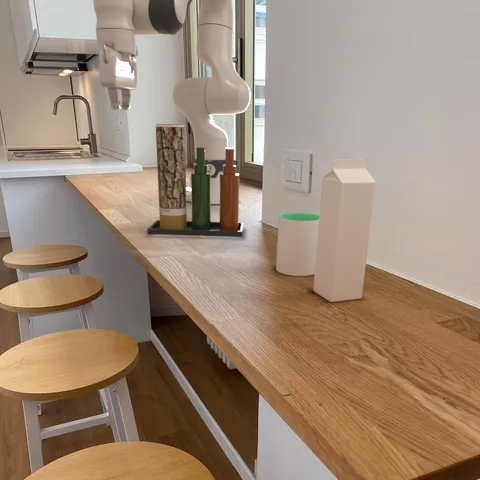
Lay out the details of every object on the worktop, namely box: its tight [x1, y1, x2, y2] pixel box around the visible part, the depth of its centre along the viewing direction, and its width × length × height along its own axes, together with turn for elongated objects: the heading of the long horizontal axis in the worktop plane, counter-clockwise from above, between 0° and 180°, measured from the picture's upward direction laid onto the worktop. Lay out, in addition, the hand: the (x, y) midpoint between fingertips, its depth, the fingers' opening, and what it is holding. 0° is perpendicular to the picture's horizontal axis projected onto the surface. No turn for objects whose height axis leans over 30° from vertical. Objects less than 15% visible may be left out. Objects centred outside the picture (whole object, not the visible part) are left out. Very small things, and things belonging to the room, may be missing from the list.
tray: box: [146, 219, 245, 238], centre depth 126 cm, size 11×23×2 cm, turn 88°
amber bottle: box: [218, 147, 240, 231], centre depth 122 cm, size 5×5×20 cm
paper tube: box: [155, 123, 188, 230], centre depth 121 cm, size 7×7×25 cm
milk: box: [312, 158, 376, 303], centre depth 79 cm, size 6×6×22 cm
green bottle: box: [190, 147, 212, 230], centre depth 122 cm, size 5×5×20 cm
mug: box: [275, 212, 319, 277], centre depth 96 cm, size 12×8×10 cm, turn 109°
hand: (121, 109), depth 121 cm, fingers open, 8 cm apart
